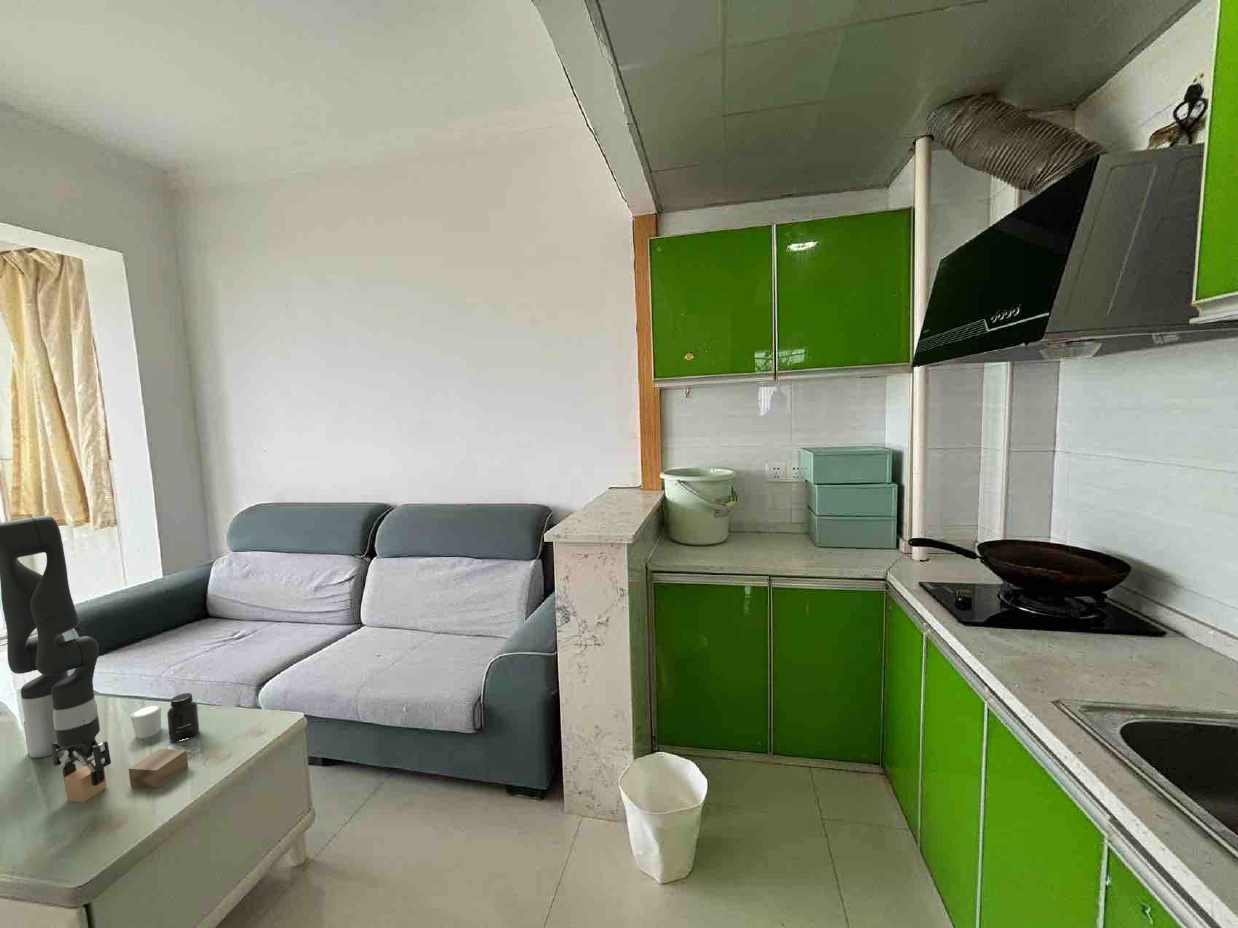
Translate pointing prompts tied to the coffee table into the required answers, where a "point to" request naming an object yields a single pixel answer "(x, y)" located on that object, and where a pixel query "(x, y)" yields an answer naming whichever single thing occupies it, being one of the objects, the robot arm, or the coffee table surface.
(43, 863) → the coffee table surface
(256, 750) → the coffee table surface
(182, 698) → the supplement bottle
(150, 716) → the white cylinder
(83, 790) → the tan block
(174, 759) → the walnut box
